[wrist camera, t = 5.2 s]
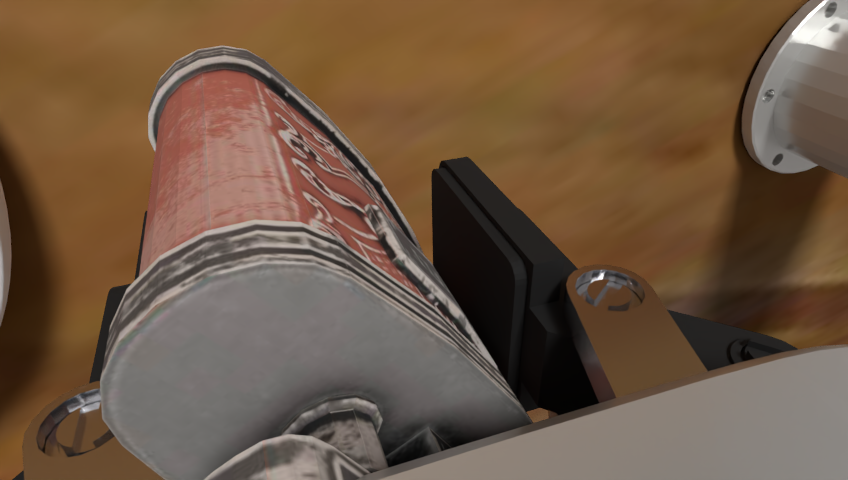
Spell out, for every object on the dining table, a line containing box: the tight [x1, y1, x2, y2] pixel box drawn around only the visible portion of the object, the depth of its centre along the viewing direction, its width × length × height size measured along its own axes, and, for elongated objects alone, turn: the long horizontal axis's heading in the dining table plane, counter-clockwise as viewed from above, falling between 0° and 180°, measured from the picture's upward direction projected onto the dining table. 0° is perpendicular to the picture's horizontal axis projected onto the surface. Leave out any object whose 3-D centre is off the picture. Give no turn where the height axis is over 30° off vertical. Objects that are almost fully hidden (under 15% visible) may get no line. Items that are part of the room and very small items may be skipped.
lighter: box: [100, 46, 533, 480], centre depth 9 cm, size 8×3×10 cm, turn 32°
